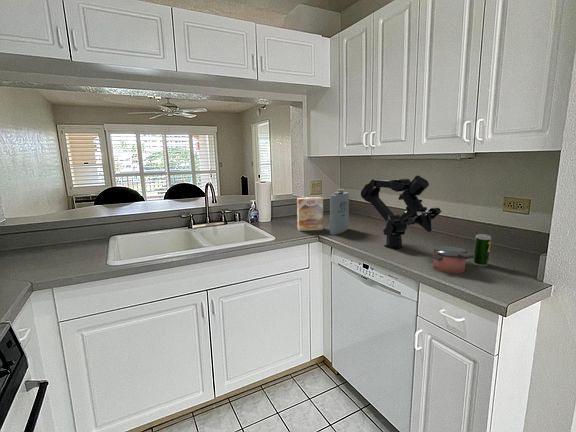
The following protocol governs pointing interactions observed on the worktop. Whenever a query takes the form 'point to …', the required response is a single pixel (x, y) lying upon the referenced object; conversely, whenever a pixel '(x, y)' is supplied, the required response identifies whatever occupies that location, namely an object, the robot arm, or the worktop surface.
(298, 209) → the coffeecake box
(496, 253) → the worktop surface
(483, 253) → the beer can
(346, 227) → the flask
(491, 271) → the worktop surface
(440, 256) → the cooker pot
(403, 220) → the robot arm
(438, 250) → the cooker lid
